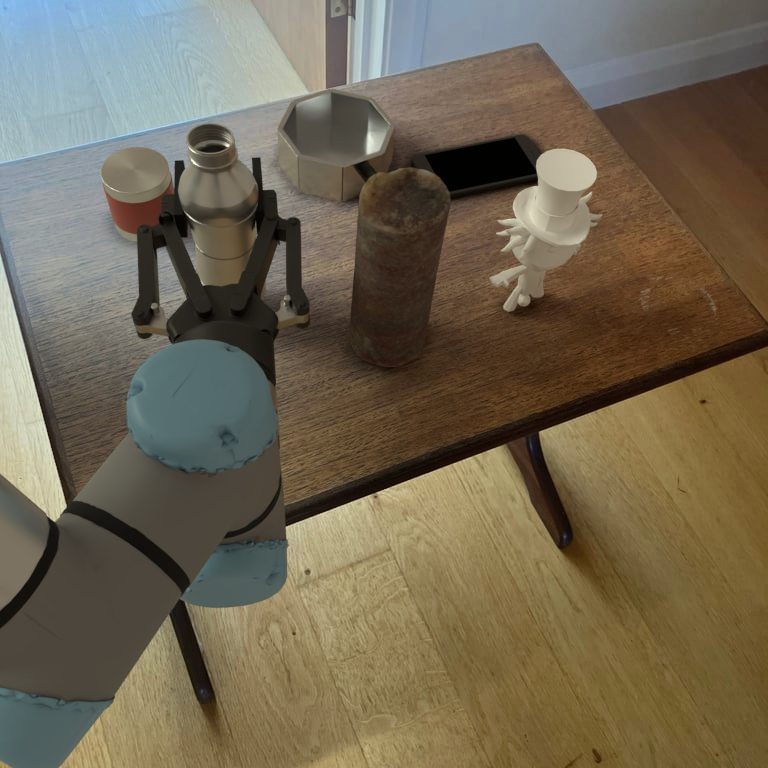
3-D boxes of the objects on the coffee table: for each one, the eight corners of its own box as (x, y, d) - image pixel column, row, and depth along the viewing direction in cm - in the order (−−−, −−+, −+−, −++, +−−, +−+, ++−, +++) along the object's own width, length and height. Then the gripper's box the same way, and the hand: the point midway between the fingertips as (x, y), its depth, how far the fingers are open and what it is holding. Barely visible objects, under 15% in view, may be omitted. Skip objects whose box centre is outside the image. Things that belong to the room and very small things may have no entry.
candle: (425, 377, 78) (453, 229, 61) (348, 375, 77) (355, 225, 61) (422, 314, 82) (448, 159, 65) (349, 311, 82) (356, 155, 65)
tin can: (103, 235, 85) (87, 184, 79) (131, 191, 89) (117, 140, 83) (164, 250, 85) (152, 200, 79) (189, 205, 88) (180, 155, 82)
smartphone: (407, 159, 94) (408, 153, 93) (525, 136, 98) (527, 130, 97) (430, 204, 90) (431, 198, 90) (552, 179, 94) (554, 173, 93)
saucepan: (265, 145, 94) (262, 109, 90) (356, 115, 98) (358, 79, 94) (340, 250, 86) (340, 216, 82) (436, 213, 90) (441, 178, 86)
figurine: (503, 351, 80) (546, 220, 65) (459, 298, 83) (489, 161, 68) (585, 310, 84) (643, 176, 69) (539, 260, 87) (584, 123, 72)
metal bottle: (221, 267, 82) (196, 100, 65) (280, 292, 81) (269, 129, 64) (185, 311, 79) (148, 147, 62) (245, 339, 77) (224, 179, 61)
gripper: (103, 426, 62) (118, 206, 74) (351, 407, 64) (326, 197, 77) (78, 371, 56) (99, 140, 68) (355, 352, 58) (326, 133, 70)
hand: (219, 171), depth 72 cm, fingers closed on metal bottle, 6 cm apart
